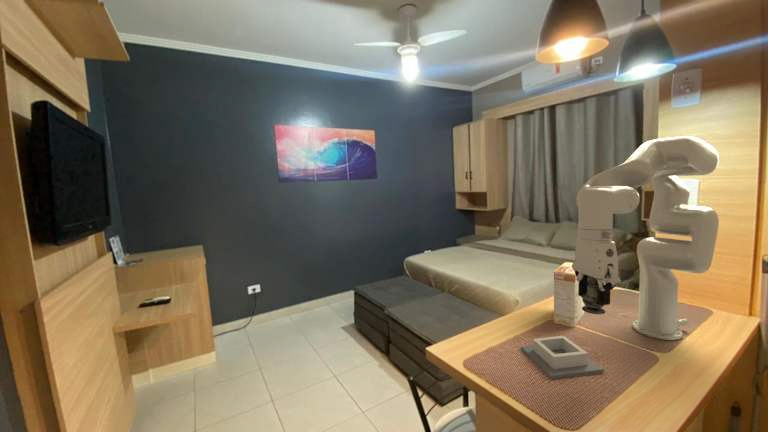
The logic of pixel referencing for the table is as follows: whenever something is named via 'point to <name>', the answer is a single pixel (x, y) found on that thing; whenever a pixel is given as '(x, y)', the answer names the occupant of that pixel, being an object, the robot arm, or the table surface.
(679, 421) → the table surface
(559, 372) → the socket
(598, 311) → the grey turned piece
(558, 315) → the coffeecake box
